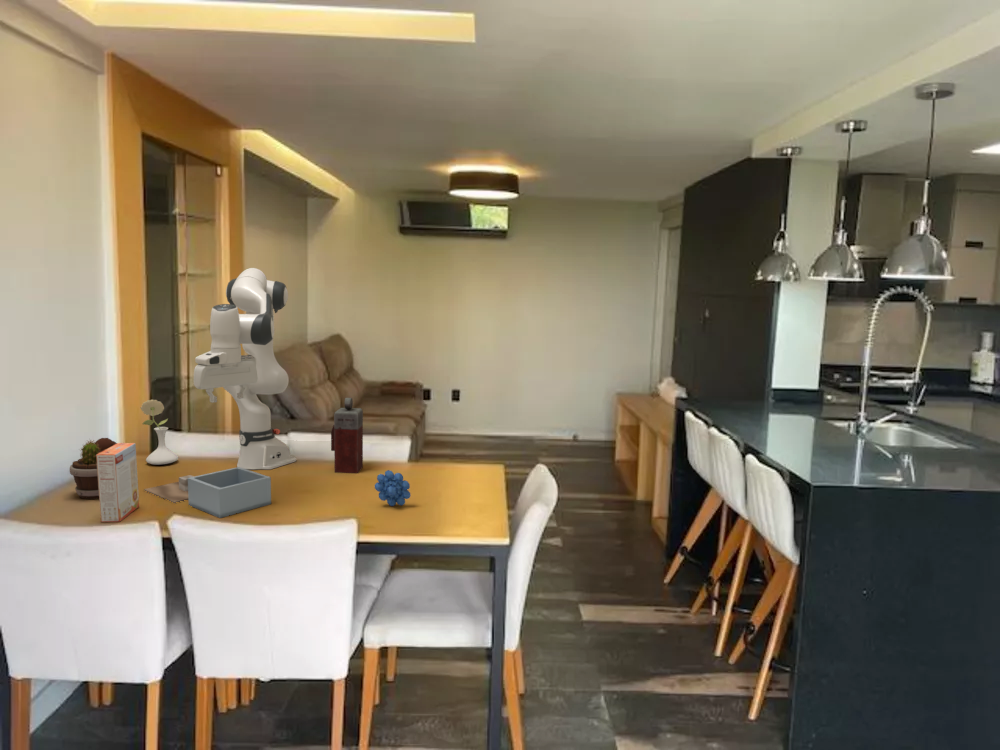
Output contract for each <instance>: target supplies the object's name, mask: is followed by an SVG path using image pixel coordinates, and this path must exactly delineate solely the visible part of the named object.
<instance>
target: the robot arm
mask: <svg viewBox="0 0 1000 750" xmlns="http://www.w3.org/2000/svg"><path fill="white" fill-rule="evenodd" d="M225 296H226V300H227V303H221V304H216V305H213V307H212V308H211V310H210V311H211V312H210V319H209V321H210V322H209V323H210V324H209V334H210V337H211V344H210V350H209V351H207V352H204V353H202V354H200V355H198V356H196V357H195V358H194V362H195V363H196V365H195V367H194V370H193V386H194V387H195V388H196V389H198V390H205V393H206V394H207V395H208V397H209V403H217V402H218V396H216V395H214V393H213V392H214V390H215V389H217V388H223V389H224V390H225V391H226V392H228V394H229V395H231V396H232V398H233V400H234V401H235V402H236V403H235V404H236V405H237V407H238V412H239V422H240V429H239V432H238V433H239V434H238V435H239V438H238V439H239V444H240V445H239V455H238V460H237V464H236V466H237V467H241V468H244V469H247V470H272V469H277V468H279V467H282V466H285V465H288V464H292V463H295V462H297V458H296V457H295V456H293V455H291V451H290V447H289V446H288V444H286V443H284V442H283V441H282V440H280V439H279V438H277V437H276V435H279V434H280V433H281V430H280V429H279V428H272V426H271V425H272V424H271V423H272V422H271V421H272V420H271V418H272V417H271V416H272V415H271V413H272V412H271V410H270V408H269V406H268V405H267V404H265V403H264V402H262V401H261V400H260V399H259V397H258V396H257V395H269V396H272V395H277V394H282V393H284V392H285V391H286V389H287V387H288V385H289V383H290V382H289V380H290V379H289V375H288V372H287V371H286V370H285V368H283V367H282V366H281V365H280V364H279V362H278V361H277V358H276V356H275V353H274V336H275V316H274V314H277V313H278V312H279V311H281V310H282V309H284V307H285V306H286V304H287V302H288V300H289V291H288V289H287V286H286V284H285V283H284V282H282V281H278V280H275V281H274V280H269V279H267V276H266V275H265V273H264V272H263V271H262V270H261V269H259V268H256V267H250V268H247V269H245V270H243V271H242V272H241V273H239V275H238V276H237V277H236V278H233V279H231V280H230V281H229V282H228V283H227V286H226V288H225ZM239 310H241V311H243V312H245V313H239ZM242 349H243V351H244V352H245V353H246V354H247V355H245V354H244V355H242Z"/></svg>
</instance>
